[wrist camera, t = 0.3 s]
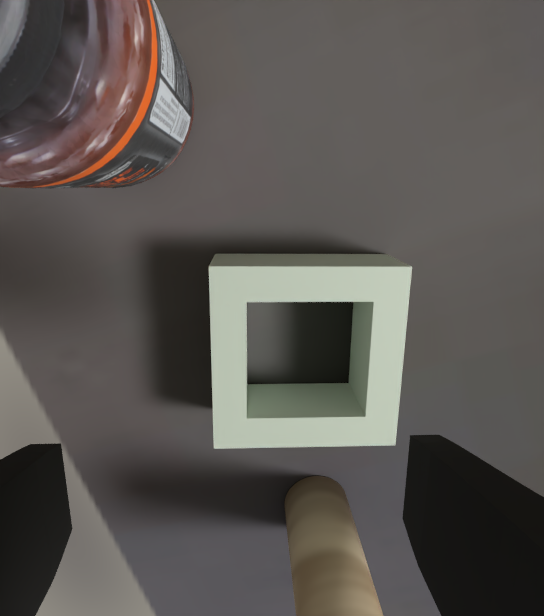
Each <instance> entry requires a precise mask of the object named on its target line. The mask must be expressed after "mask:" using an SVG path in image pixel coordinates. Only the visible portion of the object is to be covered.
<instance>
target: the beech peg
mask: <svg viewBox="0 0 544 616" xmlns="http://www.w3.org/2000/svg"><path fill="white" fill-rule="evenodd" d="M284 505H285V515H286V524H287V534H288V543H289V552H290V562H291V571H292V581H293V590H294V599H295V609H296V616H383V613H382V610H381V607H380V604H379V600H378V597H377V594H376V591H375V588H374V584H373V581H372V578H371V575H370V571H369V568H368V565H367V562H366V558H365V555H364V552H363V549H362V546H361V542H360V539H359V536H358V533H357V529H356V526H355V523H354V520H353V517H352V513H351V510H350V507H349V504H348V500H347V497H346V494H345V491H344V489H343V488H342V487H341V485H340V484H339V483H337V482H336V481H334V480H333V479H331V478H328V477H324V476H311V477H307V478H304V479H302V480H300V481H298V482H297V483H295V484H294V485H293V486H292V487H291V488H290V489H289V491H288V493H287V495H286V497H285V503H284Z"/></svg>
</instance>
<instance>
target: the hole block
mask: <svg viewBox="0 0 544 616" xmlns="http://www.w3.org/2000/svg"><path fill="white" fill-rule="evenodd" d="M411 272H412V266H410V265H408V264H406V263H404V262H401V261H399V260H397V259H395V258H393V257H391V256H389V255H387V254H215V255H214V257H213V259H212V261H211V263H210V265H209V295H210V330H211V366H212V401H213V436H214V449H221V448H275V447H330V446H384V445H395V443H396V433H397V422H398V411H399V401H400V390H401V379H402V368H403V358H404V347H405V336H406V326H407V315H408V304H409V294H410V283H411ZM247 302H353V318H352V334H351V351H350V368H349V383H308V384H247Z"/></svg>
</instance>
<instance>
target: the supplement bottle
mask: <svg viewBox="0 0 544 616" xmlns="http://www.w3.org/2000/svg"><path fill="white" fill-rule="evenodd" d="M193 114H194V99H193V92H192V86H191V82H190V79H189V74H188V71H187V69H186V66H185V63H184V61H183V59H182V57H181V54H180V52H179V51H178V49H177V47H176V44H175V42H174V40H173V38H172V36H171V34H170V32H169V30H168V28H167V26H166V24H165V22H164V20H163V18H162V16H161V14H160V11H159V9H158V7H157V6H156V4H155V2H154V0H0V186H1V187H21V188H76V187H93V188H100V187H104V188H118V187H126V186H132V185H135V184H138V183H141V182H144V181H147V180H149V179H151V178H153V177H155V176H156V175H158V174H160V173H161V172H163V171H164V170H165V169H166V168H167V167H168V166H170V165H171V164H172V163H173V162H174V161H175V160H176V158H177V157H178V155H179V154H180V152H181V151H182V149H183V147H184V145H185V143H186V141H187V139H188V136H189V133H190V130H191V125H192V121H193Z"/></svg>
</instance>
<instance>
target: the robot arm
mask: <svg viewBox="0 0 544 616" xmlns="http://www.w3.org/2000/svg"><path fill="white" fill-rule="evenodd" d="M403 521H404V524H405V527H406V530H407V533H408V537H409V540H410V543H411V546H412V549H413V552H414V554H415V557H416V560H417V563H418V566H419V568H420V571H421V573H422V575H423V577H424V579H425V582H426V584H427V586H428V588H429V590H430V592H431V594H432V597H433V599H434V601H435V603H436V605H437V607H438V609H439V612H440V614H441V616H544V497H542V496H541V495H539V494H537V493H535V492H534V491H532V490H530V489H529V488H527V487H525V486H524V485H522V484H520V483H519V482H517V481H515V480H514V479H512V478H511V477H509V476H507V475H506V474H504V473H502V472H501V471H499V470H498V469H496V468H494V467H493V466H491V465H489V464H488V463H486V462H485V461H483V460H481V459H480V458H478V457H477V456H475V455H473V454H472V453H470V452H468V451H467V450H465V449H464V448H462V447H460V446H459V445H457V444H455V443H453V442H452V441H450V440H448V439H446V438H444V437H442V436H440V435H410V444H409V455H408V466H407V477H406V488H405V499H404V509H403ZM71 531H72V524H71V516H70V509H69V501H68V495H67V486H66V479H65V472H64V463H63V456H62V448H61V444H30V445H28V446H26V447H23V448H21V449H20V450H18V451H16V452H14V453H12V454H10V455H8V456H6V457H5V458H3V459H1V460H0V616H35V615H36V613H37V611H38V609H39V607H40V605H41V603H42V601H43V599H44V597H45V595H46V594H47V592H48V589H49V587H50V586H51V584H52V581H53V579H54V576H55V574H56V572H57V569H58V566H59V564H60V561H61V559H62V556H63V553H64V550H65V548H66V545H67V542H68V539H69V536H70V534H71Z"/></svg>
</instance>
